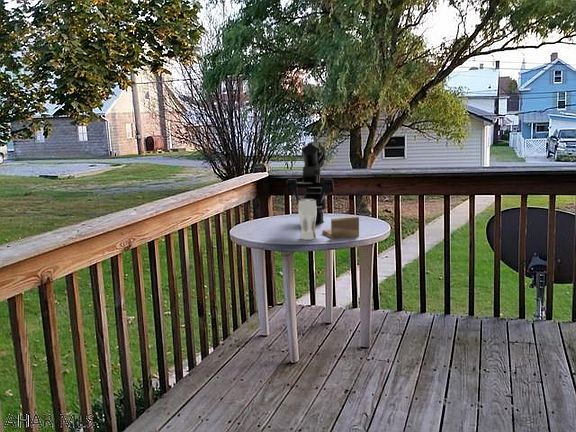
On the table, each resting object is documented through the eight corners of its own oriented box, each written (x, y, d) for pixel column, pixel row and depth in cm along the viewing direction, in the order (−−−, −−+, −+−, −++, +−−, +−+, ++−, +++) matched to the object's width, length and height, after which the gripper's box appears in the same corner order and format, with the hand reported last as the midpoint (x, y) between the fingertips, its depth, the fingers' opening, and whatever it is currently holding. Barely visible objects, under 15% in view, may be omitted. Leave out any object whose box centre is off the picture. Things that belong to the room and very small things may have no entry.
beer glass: (298, 237, 218) (297, 199, 216) (315, 236, 219) (315, 198, 216) (300, 240, 212) (299, 201, 209) (318, 240, 212) (317, 201, 209)
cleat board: (322, 233, 223) (322, 214, 222) (347, 231, 227) (347, 212, 225) (332, 238, 213) (332, 219, 212) (358, 236, 217) (358, 217, 216)
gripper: (286, 159, 223) (283, 190, 214) (332, 158, 221) (331, 189, 212) (289, 176, 232) (286, 207, 223) (334, 176, 230) (333, 207, 221)
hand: (308, 202), depth 220 cm, fingers open, 9 cm apart
